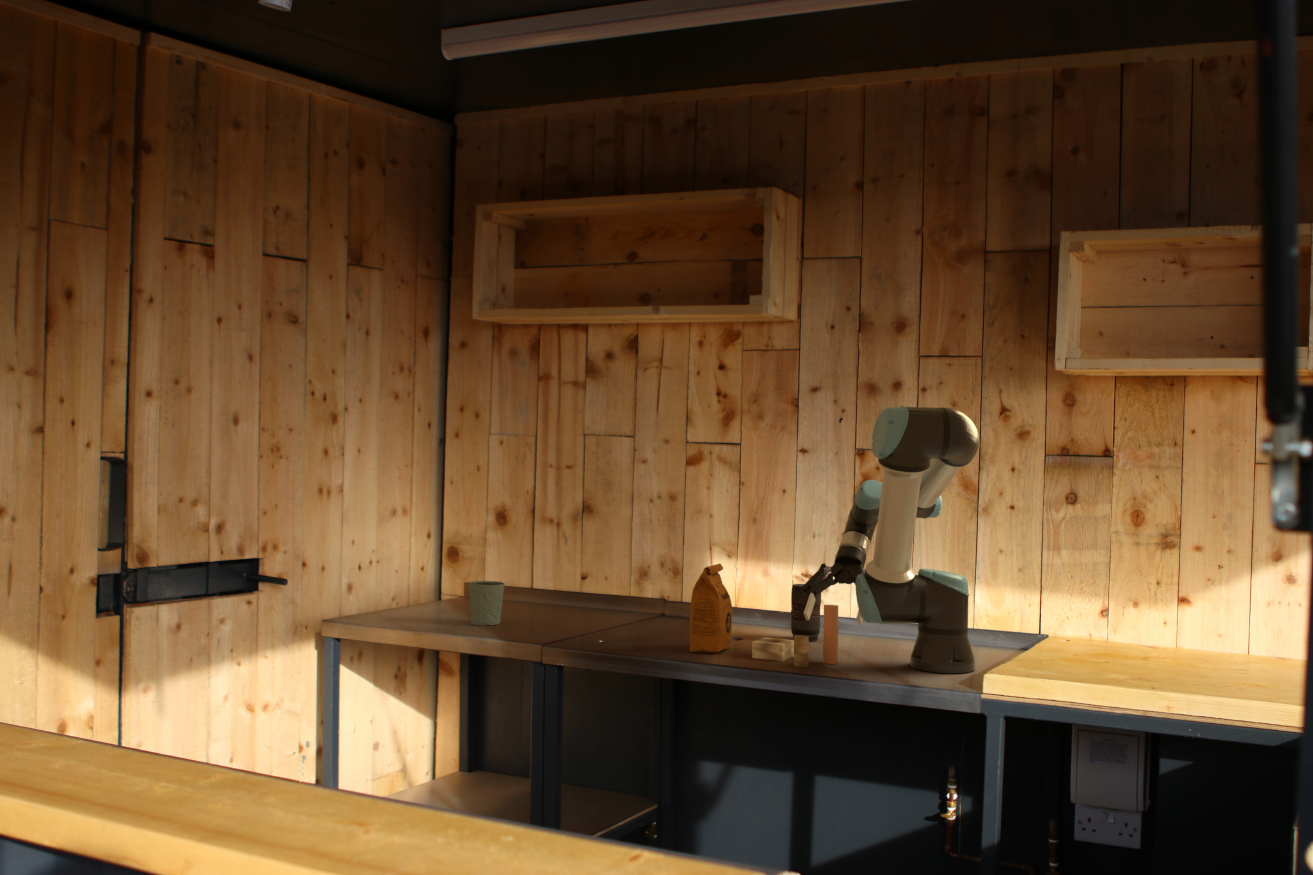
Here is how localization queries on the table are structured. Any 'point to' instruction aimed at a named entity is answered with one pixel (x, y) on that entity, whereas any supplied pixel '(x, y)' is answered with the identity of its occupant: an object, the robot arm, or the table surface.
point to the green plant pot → (486, 602)
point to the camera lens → (798, 619)
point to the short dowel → (801, 651)
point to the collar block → (773, 649)
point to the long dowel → (830, 634)
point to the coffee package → (710, 613)
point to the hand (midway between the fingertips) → (832, 619)
